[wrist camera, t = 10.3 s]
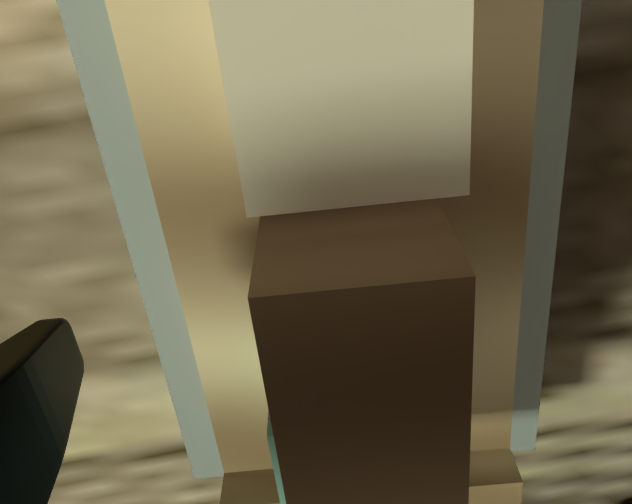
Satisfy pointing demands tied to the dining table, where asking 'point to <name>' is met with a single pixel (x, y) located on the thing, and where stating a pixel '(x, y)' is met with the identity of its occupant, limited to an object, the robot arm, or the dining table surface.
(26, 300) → the dining table surface
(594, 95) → the dining table surface
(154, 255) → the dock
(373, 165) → the block
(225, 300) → the tray
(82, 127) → the dining table surface
